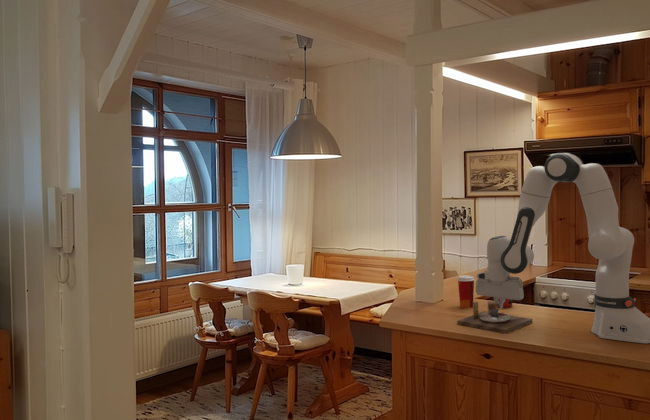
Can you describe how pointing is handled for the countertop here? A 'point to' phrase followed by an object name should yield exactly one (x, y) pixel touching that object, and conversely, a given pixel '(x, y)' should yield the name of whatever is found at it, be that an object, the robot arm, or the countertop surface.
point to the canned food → (507, 303)
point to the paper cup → (466, 291)
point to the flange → (494, 314)
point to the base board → (496, 327)
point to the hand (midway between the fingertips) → (499, 308)
